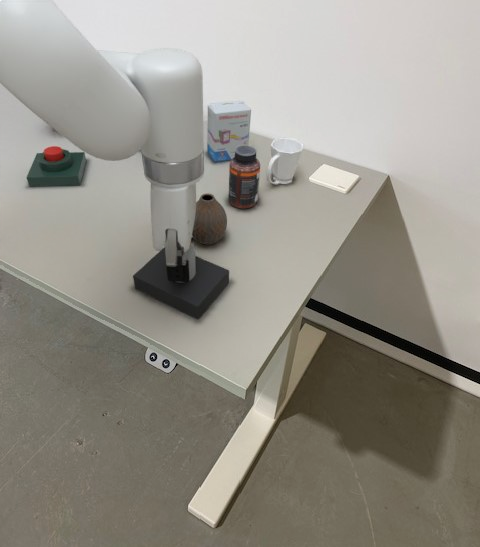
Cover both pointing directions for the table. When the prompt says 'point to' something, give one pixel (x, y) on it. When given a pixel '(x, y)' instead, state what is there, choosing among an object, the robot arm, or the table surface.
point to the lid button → (53, 153)
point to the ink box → (227, 129)
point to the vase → (209, 220)
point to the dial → (191, 257)
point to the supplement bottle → (244, 177)
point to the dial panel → (182, 285)
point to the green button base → (57, 170)
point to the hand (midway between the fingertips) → (181, 267)
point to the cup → (284, 160)
